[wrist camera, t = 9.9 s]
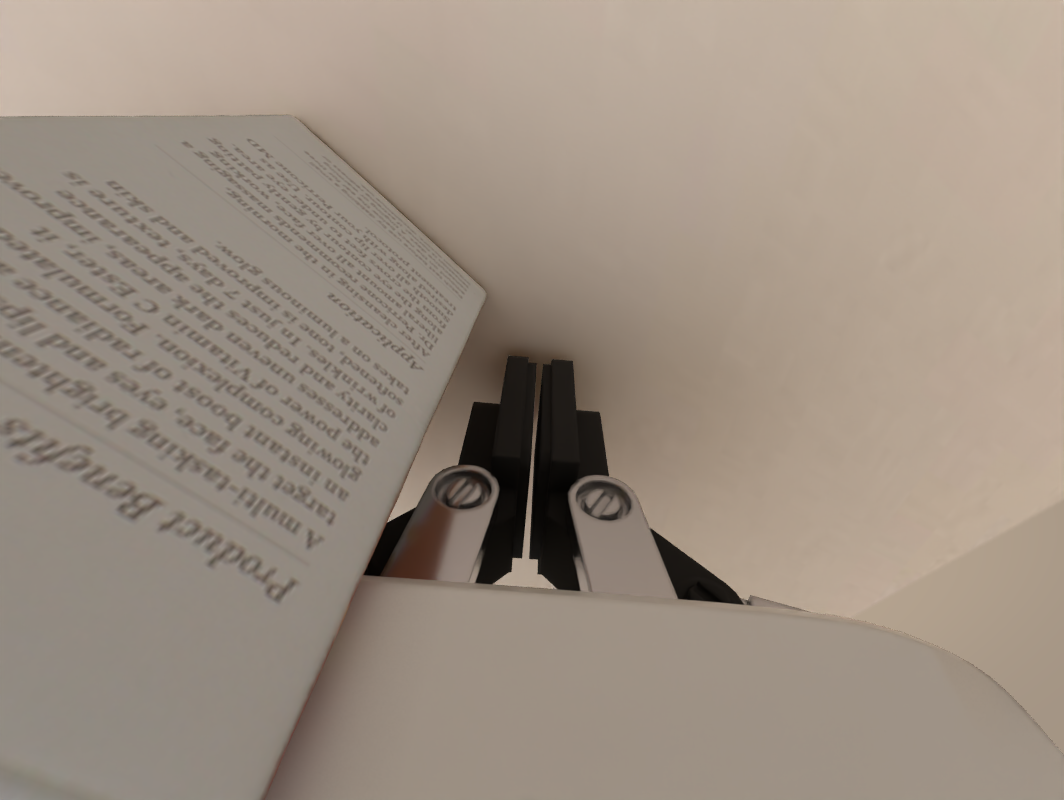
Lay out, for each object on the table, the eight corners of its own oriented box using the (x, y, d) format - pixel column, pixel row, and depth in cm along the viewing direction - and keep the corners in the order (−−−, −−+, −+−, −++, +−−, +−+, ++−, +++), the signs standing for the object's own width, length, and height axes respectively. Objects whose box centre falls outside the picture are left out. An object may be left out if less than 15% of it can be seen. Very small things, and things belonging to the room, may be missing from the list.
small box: (329, 466, 15) (-37, 1007, 6) (155, 350, 13) (-736, 872, 4) (498, 291, 12) (241, 929, 3) (294, 102, 10) (-2745, 67, 1)
